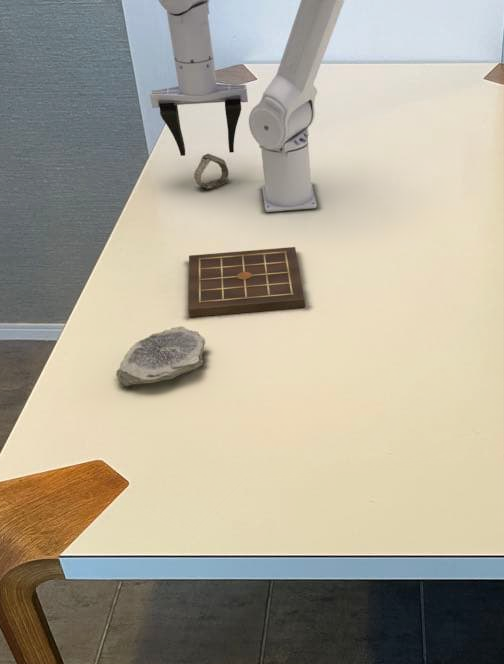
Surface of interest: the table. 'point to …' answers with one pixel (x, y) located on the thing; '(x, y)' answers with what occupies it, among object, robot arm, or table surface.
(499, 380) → the table surface
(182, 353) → the fossil
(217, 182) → the wristwatch
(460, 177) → the table surface
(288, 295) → the board
